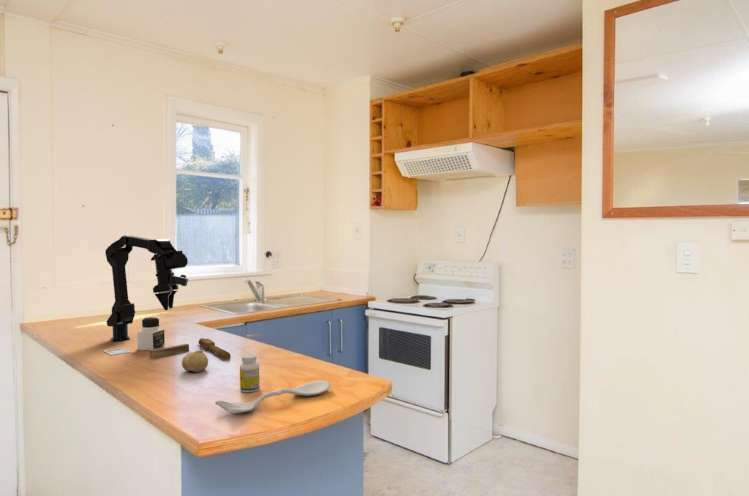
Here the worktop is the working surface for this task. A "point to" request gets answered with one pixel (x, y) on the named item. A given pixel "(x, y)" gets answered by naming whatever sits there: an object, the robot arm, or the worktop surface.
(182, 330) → the worktop surface
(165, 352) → the stop bar
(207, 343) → the tap handle
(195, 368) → the onion
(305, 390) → the spoon
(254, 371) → the supplement bottle
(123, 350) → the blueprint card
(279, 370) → the worktop surface
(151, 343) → the medicine bottle
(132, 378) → the worktop surface
